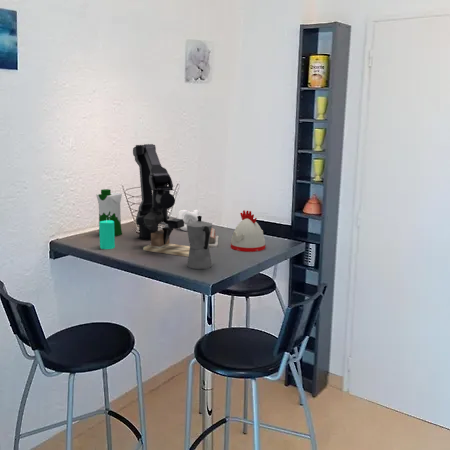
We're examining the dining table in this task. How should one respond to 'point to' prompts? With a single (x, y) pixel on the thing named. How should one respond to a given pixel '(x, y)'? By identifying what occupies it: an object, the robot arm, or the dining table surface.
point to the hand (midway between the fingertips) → (160, 243)
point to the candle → (107, 234)
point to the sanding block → (158, 239)
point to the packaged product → (213, 239)
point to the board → (170, 249)
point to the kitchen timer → (248, 235)
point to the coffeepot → (199, 244)
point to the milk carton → (110, 208)
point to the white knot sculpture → (187, 217)
